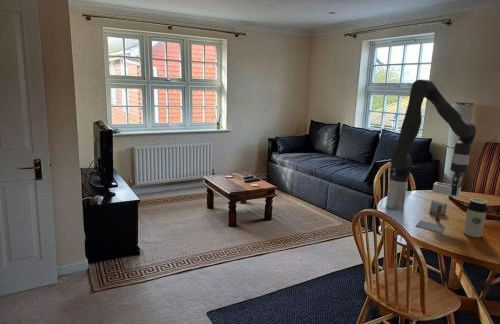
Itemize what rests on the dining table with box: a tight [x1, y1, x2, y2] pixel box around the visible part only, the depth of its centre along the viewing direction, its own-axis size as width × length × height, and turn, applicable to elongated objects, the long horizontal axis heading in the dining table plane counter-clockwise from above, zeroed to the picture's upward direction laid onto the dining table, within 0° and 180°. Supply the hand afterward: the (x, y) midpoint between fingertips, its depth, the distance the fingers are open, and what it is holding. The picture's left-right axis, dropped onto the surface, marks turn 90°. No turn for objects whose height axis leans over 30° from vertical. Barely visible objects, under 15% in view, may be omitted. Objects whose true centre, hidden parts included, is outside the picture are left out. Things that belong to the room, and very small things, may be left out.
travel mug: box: [463, 197, 489, 238], centre depth 179 cm, size 8×8×18 cm
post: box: [435, 205, 442, 222], centre depth 197 cm, size 2×2×9 cm
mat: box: [415, 219, 446, 234], centre depth 189 cm, size 12×10×1 cm
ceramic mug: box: [429, 199, 448, 216], centre depth 209 cm, size 11×8×8 cm
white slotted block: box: [432, 181, 462, 198], centre depth 190 cm, size 12×6×4 cm, turn 53°
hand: (454, 193), depth 188 cm, fingers closed on white slotted block, 5 cm apart
